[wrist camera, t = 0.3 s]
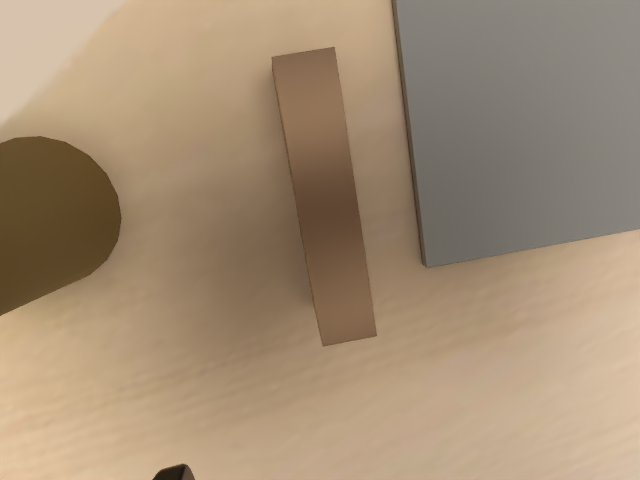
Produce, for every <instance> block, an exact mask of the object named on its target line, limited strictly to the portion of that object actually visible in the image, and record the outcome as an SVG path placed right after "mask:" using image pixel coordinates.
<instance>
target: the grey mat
mask: <svg viewBox="0 0 640 480" xmlns="http://www.w3.org/2000/svg"><path fill="white" fill-rule="evenodd" d="M392 4H393V13H394V21H395V30H396V38H397V47H398V55H399V64H400V72H401V81H402V89H403V98H404V106H405V115H406V123H407V132H408V140H409V149H410V157H411V166H412V174H413V183H414V191H415V200H416V208H417V217H418V225H419V234H420V242H421V251H422V259H423V265H424V266H425V267H426V268H431V267H436V266H442V265H447V264H453V263H458V262H463V261H469V260H474V259H480V258H485V257H491V256H496V255H501V254H507V253H512V252H518V251H523V250H528V249H534V248H539V247H545V246H550V245H555V244H561V243H566V242H572V241H577V240H582V239H588V238H593V237H599V236H604V235H609V234H615V233H620V232H626V231H631V230H637V229H640V0H392Z"/></svg>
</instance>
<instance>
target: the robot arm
mask: <svg viewBox="0 0 640 480" xmlns="http://www.w3.org/2000/svg"><path fill="white" fill-rule="evenodd" d="M152 480H195V478H194V476H193V473H192V471H191V469H190V468H189V466H188V465H186V464H180V465H176V466H172V467H168V468H165V469H162V470H160V471H159V472H158V473H157V474H156V475H155V477H154V478H153V479H152Z"/></svg>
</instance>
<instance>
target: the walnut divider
mask: <svg viewBox="0 0 640 480" xmlns="http://www.w3.org/2000/svg"><path fill="white" fill-rule="evenodd" d="M272 71H273V77H274V83H275V88H276V94H277V100H278V105H279V111H280V117H281V122H282V128H283V133H284V139H285V145H286V150H287V156H288V162H289V167H290V173H291V179H292V184H293V190H294V196H295V201H296V207H297V213H298V218H299V224H300V230H301V235H302V241H303V246H304V252H305V258H306V263H307V269H308V275H309V280H310V286H311V292H312V297H313V303H314V308H315V313H316V318H317V322H318V327H319V331H320V336H321V341H322V345H323V346H328V345H333V344H338V343H343V342H349V341H354V340H359V339H364V338H370V337H375V336H377V333H376V326H375V320H374V313H373V306H372V299H371V292H370V286H369V279H368V272H367V265H366V258H365V251H364V245H363V238H362V231H361V224H360V217H359V210H358V204H357V197H356V190H355V183H354V176H353V169H352V163H351V156H350V149H349V142H348V135H347V128H346V122H345V115H344V108H343V101H342V94H341V87H340V81H339V74H338V67H337V60H336V53H335V47H331V48H325V49H319V50H312V51H306V52H300V53H294V54H288V55H282V56H276V57H272Z"/></svg>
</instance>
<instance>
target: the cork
mask: <svg viewBox="0 0 640 480" xmlns="http://www.w3.org/2000/svg"><path fill="white" fill-rule="evenodd" d="M120 223H121V214H120V208H119V202H118V196H117V194H116V192H115V190H114V188H113V186H112V184H111V182H110V180H109V178H108V176H107V174H106V173H105V172H104V171H103V170H102V169H101V168H100V167H99V166H98V165H97V164H96V163H95V162H94V161H93V160H92V158H91V157H90V156H89V155H87V154H85V153H84V152H82V151H80V150H78V149H77V148H75V147H73V146H71V145H70V144H68V143H66V142H62V141H58V140H54V139H49V138H45V137H41V136H38V137H24V138H14V139H11V140H9V141H6V142H3V143H1V144H0V316H1V315H3V314H5V313H7V312H9V311H12V310H14V309H16V308H18V307H20V306H22V305H25V304H27V303H29V302H31V301H33V300H36V299H38V298H40V297H42V296H44V295H46V294H49V293H51V292H53V291H55V290H57V289H59V288H62V287H64V286H66V285H68V284H70V283H73V282H75V281H77V280H79V279H81V278H83V277H86V276H88V275H90V274H91V273H92V272H93V271H95V270H96V269H97V268H98V267H99V266H100V265H101V264H103V263H104V262H105V261H106V260H107V258H108V257H109V255H110V253H111V251H112V250H113V248H114V246H115V244H116V243H117V241H118V235H119V229H120Z"/></svg>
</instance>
